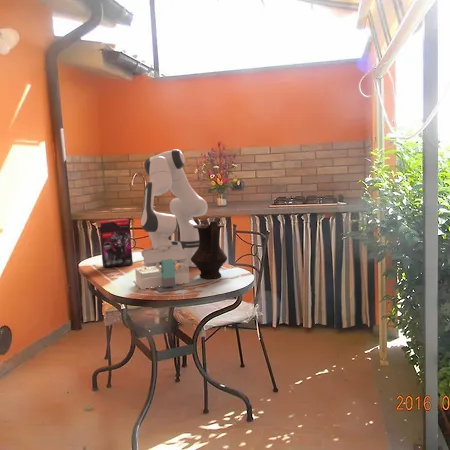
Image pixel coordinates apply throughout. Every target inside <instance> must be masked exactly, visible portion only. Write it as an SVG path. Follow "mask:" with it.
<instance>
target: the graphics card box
mask: <svg viewBox="0 0 450 450" xmlns="http://www.w3.org/2000/svg"><path fill="white" fill-rule="evenodd" d="M98 228H99V239H100V240H99V241H100V249H101V251H100V252H101V260H102V267H103V268H104V269H108V268H114V267H115V268H116V267H123V266H129V265H133V264H134V263H133V262H134V261H133V251H132V250H133V249H132V239H131V229H130V220H129V219H128V218H120V219H108V220H99V221H98Z"/></svg>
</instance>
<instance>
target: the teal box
mask: <svg viewBox="0 0 450 450" xmlns="http://www.w3.org/2000/svg"><path fill="white" fill-rule="evenodd" d="M174 266H175V265H174V260H172V259H167V260H161V265H160V267H161V268H163V272H162V285H163V286H164V287H169V286H175V270H174Z"/></svg>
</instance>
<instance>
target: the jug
mask: <svg viewBox="0 0 450 450" xmlns="http://www.w3.org/2000/svg"><path fill="white" fill-rule="evenodd" d="M193 227H194V228H197V229H198V233H199V241H200V242H199V243H200V244H199V247H198V249H197V251H196V252H195V253H194V255H193V256H192V258H191V261H192V262H193V263H194V264H195V265H196V266H197V267H196V268H197V269H198V271H199V272H200V273H199V277H200V278H201V279H210V280H211V279H220V278H221V277H222V274H221V272H220V270H221V268H222V267H223V265H224V264H225V263H226V262H227V260H228V257H227V255H226V253H225V251H223V249H221V247H220V229H221V228H224V227H225V225H224V224H218V221H217V220H212V221H211V222H210V223H208V224H197V225H194V226H193Z"/></svg>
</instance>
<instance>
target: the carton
mask: <svg viewBox="0 0 450 450" xmlns="http://www.w3.org/2000/svg"><path fill="white" fill-rule="evenodd" d="M180 264H181V266H180V268H176V271H175V284H179V285H184V284H183V283H185V284H190V268H189V267H190V266H186V265H184V264H183V263H180ZM134 271H135V272H134V274H135V280H133V283H134V284H135V285H137V287H138V288H140V289H141V290H146V288H149V289H152V288H151V287H159V286H163V285H162V273H160V271H159V270H158V271H150V272H144V273H142V272H141V271H140V270H139V268H137V267H135V269H134Z"/></svg>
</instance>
